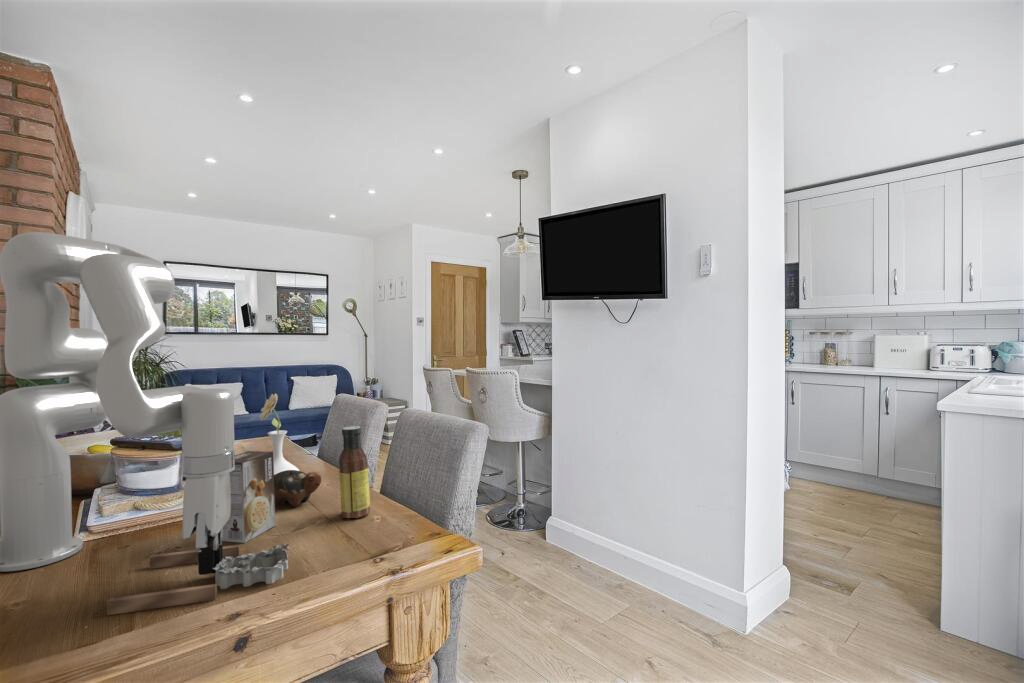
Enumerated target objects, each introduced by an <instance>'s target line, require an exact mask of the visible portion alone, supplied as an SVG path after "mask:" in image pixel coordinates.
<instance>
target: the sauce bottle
mask: <svg viewBox="0 0 1024 683" xmlns="http://www.w3.org/2000/svg"><path fill="white" fill-rule="evenodd" d="M361 434H362V428H361V426H359V425H351V426H345V427H342V428H341V435H342V438H343V439H342V440H343V441H342V442H343V446H342V448H343V449H342V451H341V453H340V455H339V458H338V464H339V466H338V468H339V471H338V474H339V476H338V477H339V491H340V492H339V493H340V494H339V496H340V511H341V514H342V517H343V518H344V517H345V519H350V518H356V519H360V518H359V517H361V518H364V517H366V516H368V515H369V514H370V510H371V509H370V507H371V498H370V496H371V495H370V481H369V480H370V478H369V466H368V459H367V458H368V456H367V455H366V453H365V451H364V449H363V447H362V442H361ZM367 514H368V515H367ZM363 516H364V517H363Z"/></svg>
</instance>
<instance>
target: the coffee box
mask: <svg viewBox="0 0 1024 683" xmlns="http://www.w3.org/2000/svg"><path fill="white" fill-rule="evenodd" d="M229 475H230V490H231V512H230V517H229V519H228V521H227V522H226V524H225V525H224V526H223V539H222V542H229V543H240V544H246V543H247V542H249V541H251V540H253V539H255V538H256V537H258V536H260V535H262V534H263V533H265V532H266V531H268V530H270V529H271V528H273V527H276V507H275V506H276V504H275V495H274V460H273V451H258V450H257V451H256V450H255V451H254V450H248V451H244V452H242V453H237V454H235V469H234V470H233V471H231V472H229Z"/></svg>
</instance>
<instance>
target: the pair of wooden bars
mask: <svg viewBox="0 0 1024 683" xmlns="http://www.w3.org/2000/svg"><path fill="white" fill-rule="evenodd" d="M232 556H233V558H236V557H238V556H241V544H235V545H227V546H223V558H224V559H225V557H232ZM192 564H198V549H192V550H191V549H190V550H184V551H177V552H168V553H159V554H151V556H150V557H149V570H151V569H160V568H167V567H168V568H169V567H175V566H176V567H177V566H183V565H184V566H185V565H192ZM217 598H218V586H217V584H215V583H214V584H206V585H199V586H191V587H185V588H175V589H169V590H161V591H155V592H148V593H140V594H133V595H126V596H125V595H124V596H118V597H110V598H108V600H107V601H106V615H107V616H111V615H118V614H126V613H133V612H140V611H146V610H154V609H161V608H167V607H175V606H180V605H181V606H182V605H188V604H195V603H202V602H203V603H204V602H208V601H209V602H210V601H215V600H216V599H217Z"/></svg>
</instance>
